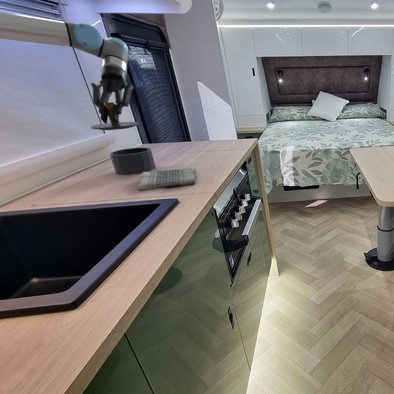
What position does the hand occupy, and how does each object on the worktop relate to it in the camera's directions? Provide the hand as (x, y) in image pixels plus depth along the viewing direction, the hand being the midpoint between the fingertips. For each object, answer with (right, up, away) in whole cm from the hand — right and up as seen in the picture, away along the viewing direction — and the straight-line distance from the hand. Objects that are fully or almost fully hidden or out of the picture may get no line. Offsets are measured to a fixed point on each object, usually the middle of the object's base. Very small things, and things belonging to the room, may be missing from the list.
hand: (109, 120), depth 106 cm
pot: (-1, -17, +15) cm, 23 cm away
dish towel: (+20, -22, +3) cm, 30 cm away
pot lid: (-1, -1, +4) cm, 5 cm away
